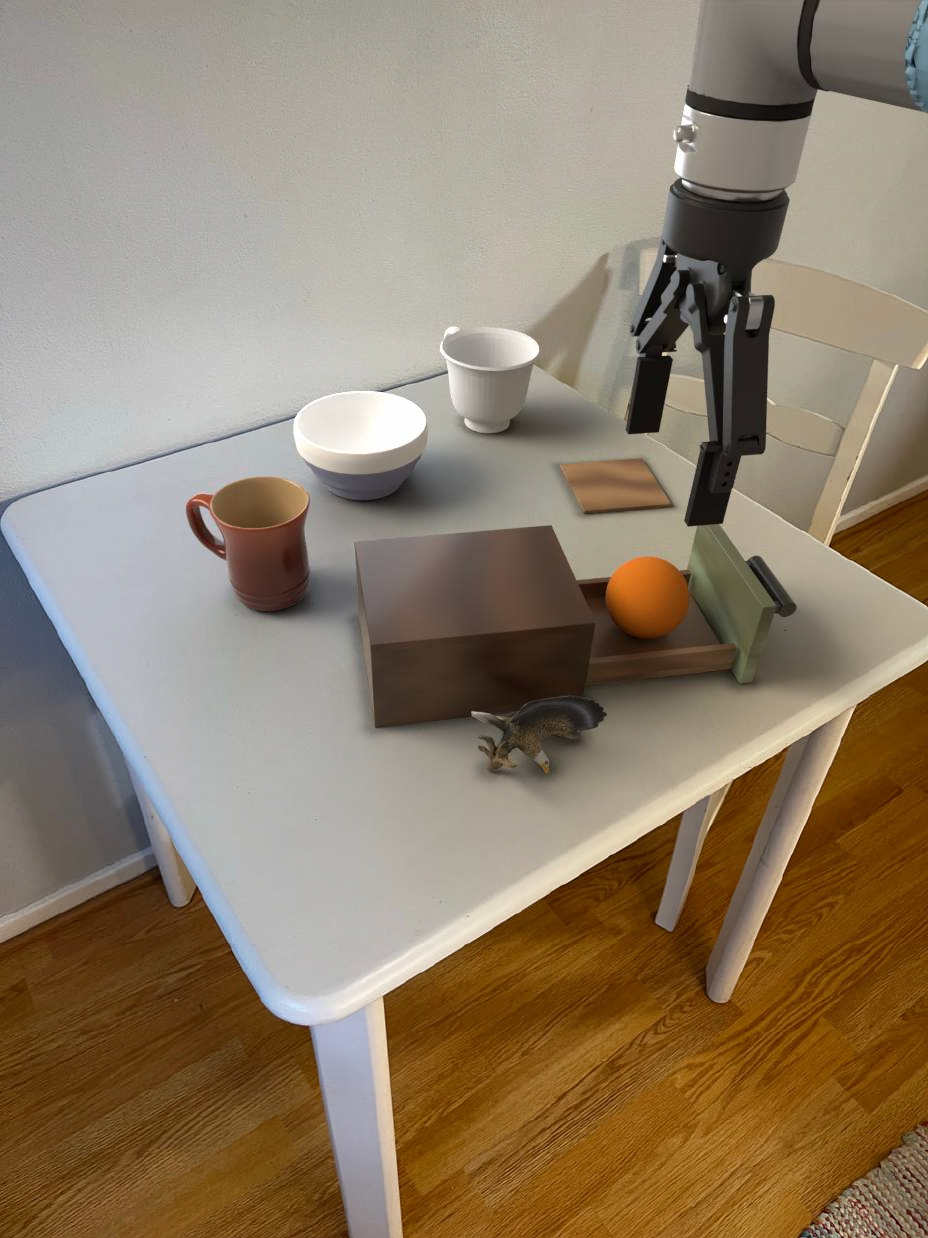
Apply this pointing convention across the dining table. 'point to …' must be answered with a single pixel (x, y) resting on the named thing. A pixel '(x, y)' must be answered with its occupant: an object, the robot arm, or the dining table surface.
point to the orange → (647, 597)
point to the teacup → (488, 374)
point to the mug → (258, 538)
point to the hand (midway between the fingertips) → (670, 474)
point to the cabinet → (470, 623)
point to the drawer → (695, 619)
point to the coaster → (614, 486)
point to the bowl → (361, 442)
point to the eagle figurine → (539, 727)
